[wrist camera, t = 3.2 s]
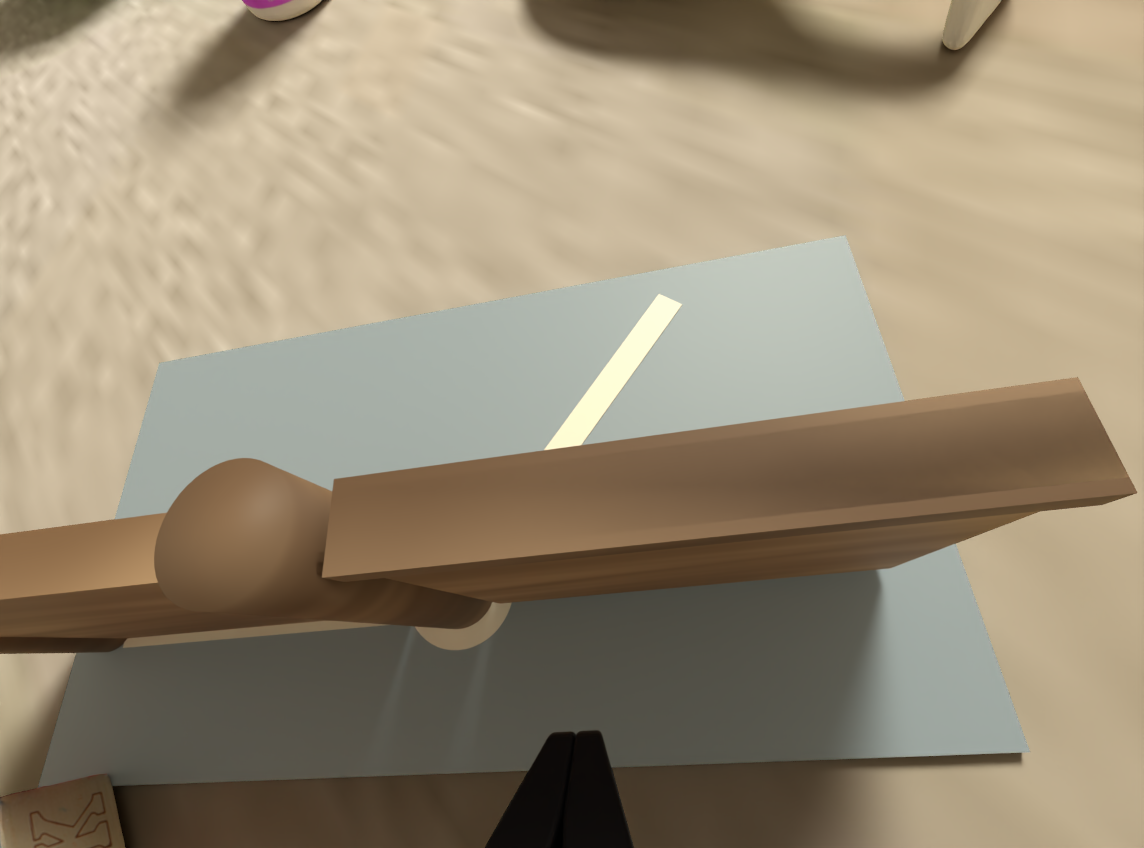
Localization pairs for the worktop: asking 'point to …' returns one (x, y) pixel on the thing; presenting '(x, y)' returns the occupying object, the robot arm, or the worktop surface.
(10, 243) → the worktop surface
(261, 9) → the supplement bottle
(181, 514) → the fence post and fixed panel
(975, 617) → the card
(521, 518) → the wooden board
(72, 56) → the worktop surface
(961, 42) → the spoon rest
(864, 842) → the worktop surface
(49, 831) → the stack of blocks
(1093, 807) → the worktop surface
